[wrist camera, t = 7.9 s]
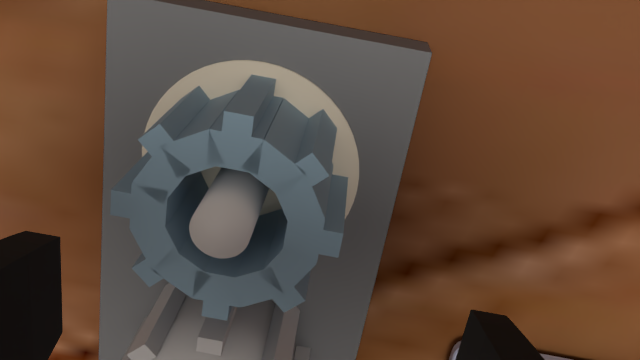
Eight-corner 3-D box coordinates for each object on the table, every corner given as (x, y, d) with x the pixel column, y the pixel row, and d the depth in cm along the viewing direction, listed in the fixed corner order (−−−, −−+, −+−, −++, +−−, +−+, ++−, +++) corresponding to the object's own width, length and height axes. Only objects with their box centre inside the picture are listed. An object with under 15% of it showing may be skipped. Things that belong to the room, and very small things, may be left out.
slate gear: (365, 95, 17) (363, 137, 14) (329, 268, 19) (321, 338, 16) (162, 57, 17) (114, 90, 14) (151, 235, 19) (107, 298, 16)
